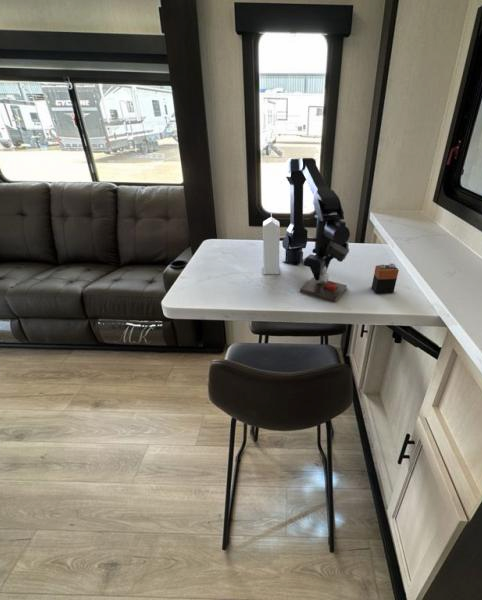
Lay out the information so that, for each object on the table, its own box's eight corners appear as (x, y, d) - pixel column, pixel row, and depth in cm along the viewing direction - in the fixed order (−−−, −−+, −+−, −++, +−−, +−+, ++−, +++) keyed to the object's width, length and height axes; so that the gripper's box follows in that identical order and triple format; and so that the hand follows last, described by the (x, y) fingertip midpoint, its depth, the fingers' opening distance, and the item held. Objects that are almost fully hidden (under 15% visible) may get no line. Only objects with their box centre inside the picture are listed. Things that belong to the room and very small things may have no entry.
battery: (394, 293, 107) (400, 267, 102) (375, 294, 106) (381, 267, 101) (388, 287, 111) (394, 261, 106) (370, 288, 110) (375, 262, 105)
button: (323, 289, 101) (324, 284, 101) (327, 285, 104) (328, 280, 103) (333, 292, 100) (334, 287, 99) (337, 287, 103) (338, 283, 102)
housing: (299, 292, 105) (299, 283, 103) (313, 280, 114) (313, 271, 112) (335, 303, 100) (336, 293, 98) (347, 289, 109) (348, 280, 107)
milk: (278, 268, 123) (279, 212, 112) (279, 274, 117) (280, 217, 106) (263, 267, 122) (263, 212, 111) (263, 274, 117) (262, 217, 106)
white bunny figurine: (314, 286, 106) (316, 265, 102) (311, 278, 112) (312, 257, 108) (329, 286, 107) (332, 265, 103) (325, 277, 113) (327, 257, 108)
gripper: (337, 248, 90) (331, 293, 98) (356, 231, 104) (350, 272, 112) (303, 240, 95) (301, 285, 103) (326, 226, 109) (322, 266, 117)
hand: (320, 277), depth 108 cm, fingers closed on white bunny figurine, 6 cm apart
